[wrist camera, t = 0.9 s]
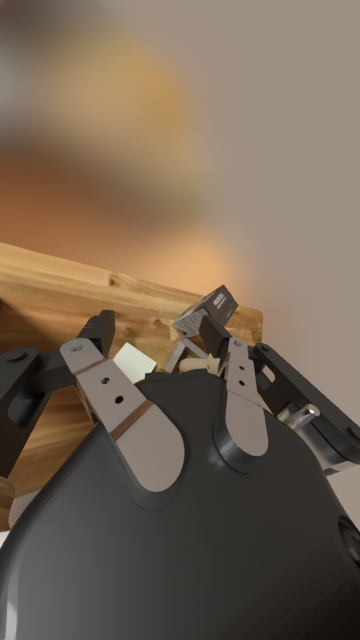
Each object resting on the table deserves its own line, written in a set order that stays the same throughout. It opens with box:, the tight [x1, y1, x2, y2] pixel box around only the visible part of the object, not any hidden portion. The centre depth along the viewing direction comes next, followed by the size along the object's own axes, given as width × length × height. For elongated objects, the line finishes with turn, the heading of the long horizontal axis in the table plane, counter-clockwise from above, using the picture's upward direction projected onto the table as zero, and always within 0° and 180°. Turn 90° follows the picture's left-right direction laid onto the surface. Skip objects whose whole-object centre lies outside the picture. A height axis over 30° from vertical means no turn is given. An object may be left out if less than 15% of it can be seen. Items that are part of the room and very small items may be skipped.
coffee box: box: [171, 285, 238, 338], centre depth 34 cm, size 9×6×16 cm
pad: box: [113, 343, 157, 384], centre depth 29 cm, size 9×9×1 cm
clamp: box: [160, 335, 208, 373], centre depth 35 cm, size 11×10×4 cm
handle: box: [177, 353, 220, 375], centre depth 30 cm, size 5×6×15 cm
